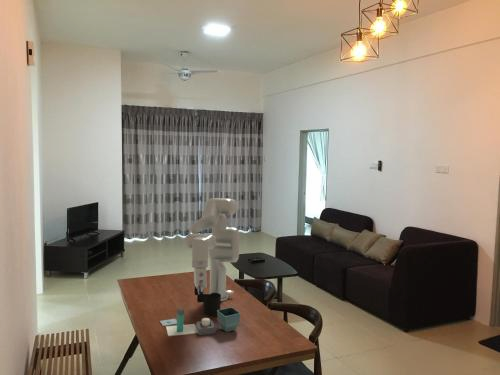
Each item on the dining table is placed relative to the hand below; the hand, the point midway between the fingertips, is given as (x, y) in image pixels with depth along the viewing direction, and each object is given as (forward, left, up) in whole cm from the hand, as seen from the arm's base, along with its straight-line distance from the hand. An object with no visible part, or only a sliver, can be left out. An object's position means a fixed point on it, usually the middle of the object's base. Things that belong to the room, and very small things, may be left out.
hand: (199, 298), depth 195 cm
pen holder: (-10, -19, -16) cm, 27 cm away
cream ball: (-3, +1, -14) cm, 14 cm away
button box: (-3, +1, -16) cm, 16 cm away
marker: (+9, -1, -16) cm, 18 cm away
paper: (+8, -2, -16) cm, 18 cm away
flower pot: (-14, +2, -16) cm, 22 cm away
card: (+13, -12, -16) cm, 24 cm away
